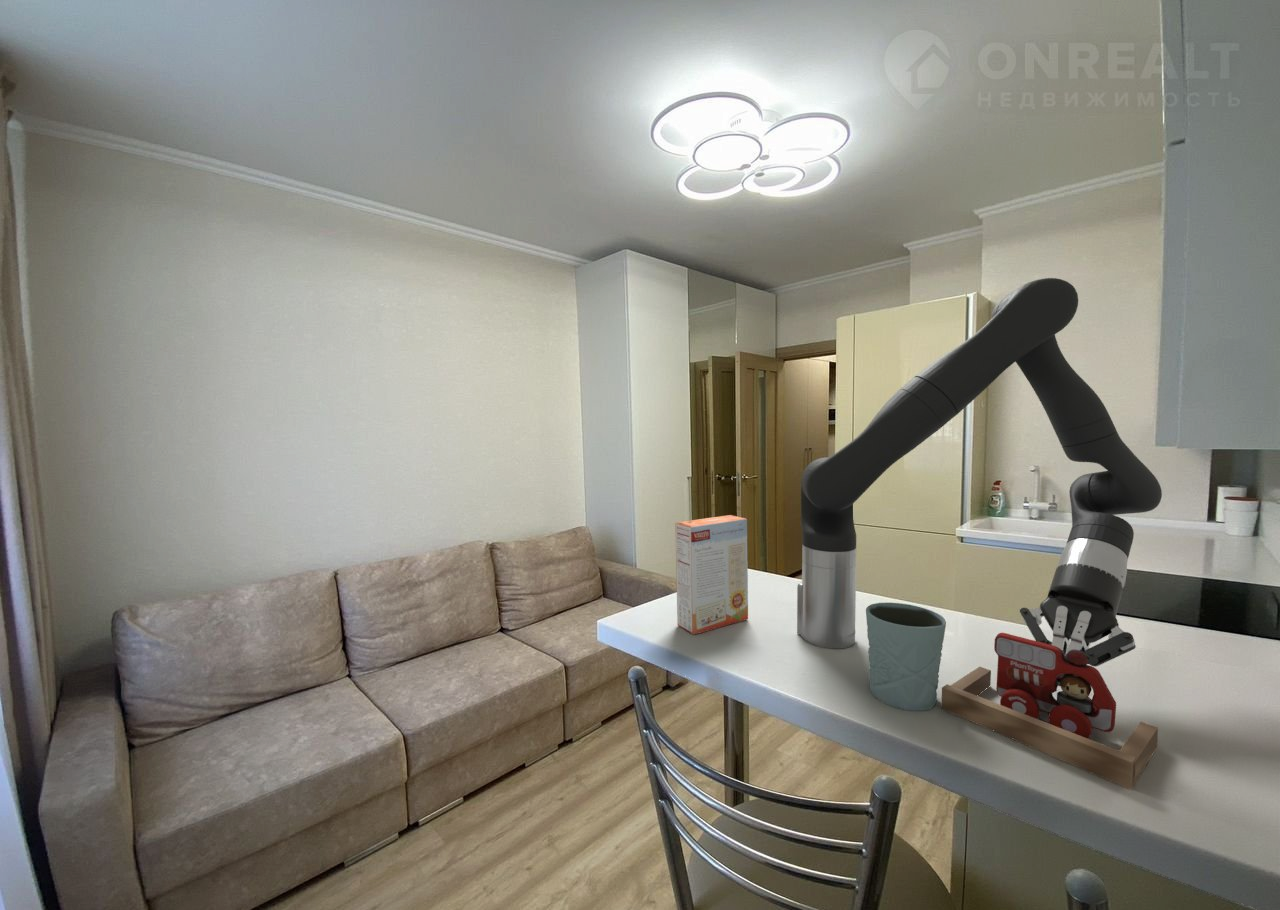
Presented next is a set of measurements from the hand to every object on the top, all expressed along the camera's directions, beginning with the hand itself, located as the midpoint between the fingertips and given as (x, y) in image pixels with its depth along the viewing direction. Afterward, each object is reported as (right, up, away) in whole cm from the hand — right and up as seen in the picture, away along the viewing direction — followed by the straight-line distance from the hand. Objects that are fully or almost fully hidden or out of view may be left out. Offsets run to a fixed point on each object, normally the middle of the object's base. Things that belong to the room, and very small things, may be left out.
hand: (1057, 683), depth 67 cm
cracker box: (-42, -3, +33) cm, 53 cm away
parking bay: (-4, -4, -3) cm, 7 cm away
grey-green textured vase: (-18, -4, +5) cm, 19 cm away
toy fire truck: (-3, -5, -2) cm, 5 cm away
